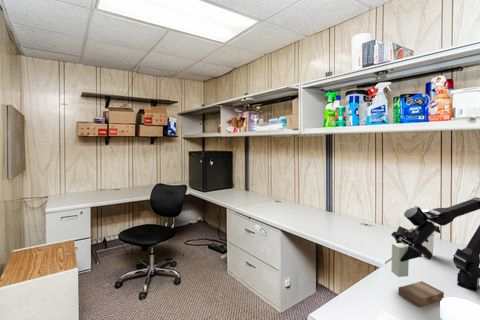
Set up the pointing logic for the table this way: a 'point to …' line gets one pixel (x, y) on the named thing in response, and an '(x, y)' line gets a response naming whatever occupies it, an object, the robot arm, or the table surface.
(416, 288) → the plinth
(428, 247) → the cylindrical container
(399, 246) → the block
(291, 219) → the table surface
